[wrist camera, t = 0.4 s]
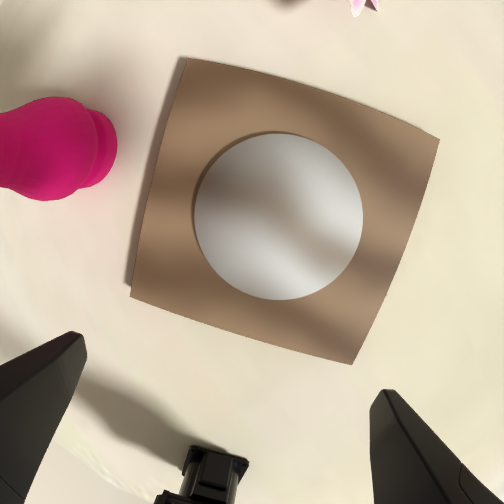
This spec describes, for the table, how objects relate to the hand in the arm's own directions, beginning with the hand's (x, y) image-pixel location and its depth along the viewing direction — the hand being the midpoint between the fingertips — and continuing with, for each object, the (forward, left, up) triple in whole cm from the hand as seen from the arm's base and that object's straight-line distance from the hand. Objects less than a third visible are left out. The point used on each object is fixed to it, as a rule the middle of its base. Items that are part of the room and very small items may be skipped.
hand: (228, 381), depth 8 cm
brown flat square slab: (+3, 0, -15) cm, 15 cm away
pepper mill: (+4, +16, -15) cm, 22 cm away
